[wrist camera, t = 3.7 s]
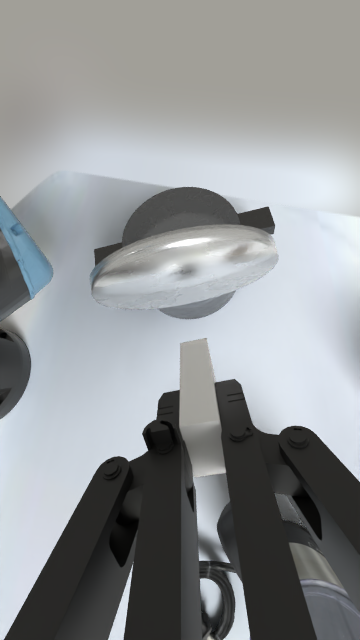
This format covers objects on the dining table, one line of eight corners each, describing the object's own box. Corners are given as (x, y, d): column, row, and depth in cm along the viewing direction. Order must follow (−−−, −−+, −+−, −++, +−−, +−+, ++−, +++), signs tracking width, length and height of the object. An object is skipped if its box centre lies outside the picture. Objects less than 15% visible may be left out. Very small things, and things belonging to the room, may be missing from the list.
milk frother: (349, 560, 32) (434, 655, 18) (276, 722, 29) (314, 987, 15) (231, 474, 37) (228, 497, 23) (157, 605, 33) (102, 724, 20)
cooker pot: (124, 334, 45) (95, 308, 36) (116, 251, 51) (89, 210, 42) (278, 300, 43) (290, 264, 34) (252, 217, 49) (256, 167, 39)
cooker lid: (126, 308, 36) (127, 318, 36) (48, 261, 20) (50, 278, 20) (260, 278, 34) (262, 288, 34) (296, 200, 18) (301, 218, 18)
